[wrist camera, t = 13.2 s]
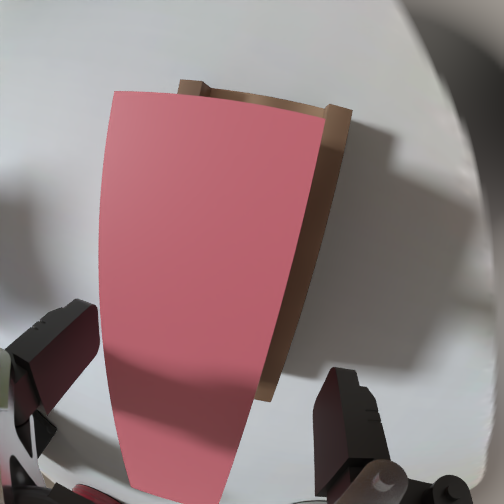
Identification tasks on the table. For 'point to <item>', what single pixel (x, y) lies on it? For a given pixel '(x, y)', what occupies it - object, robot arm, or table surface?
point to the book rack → (312, 220)
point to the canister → (93, 495)
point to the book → (194, 274)
